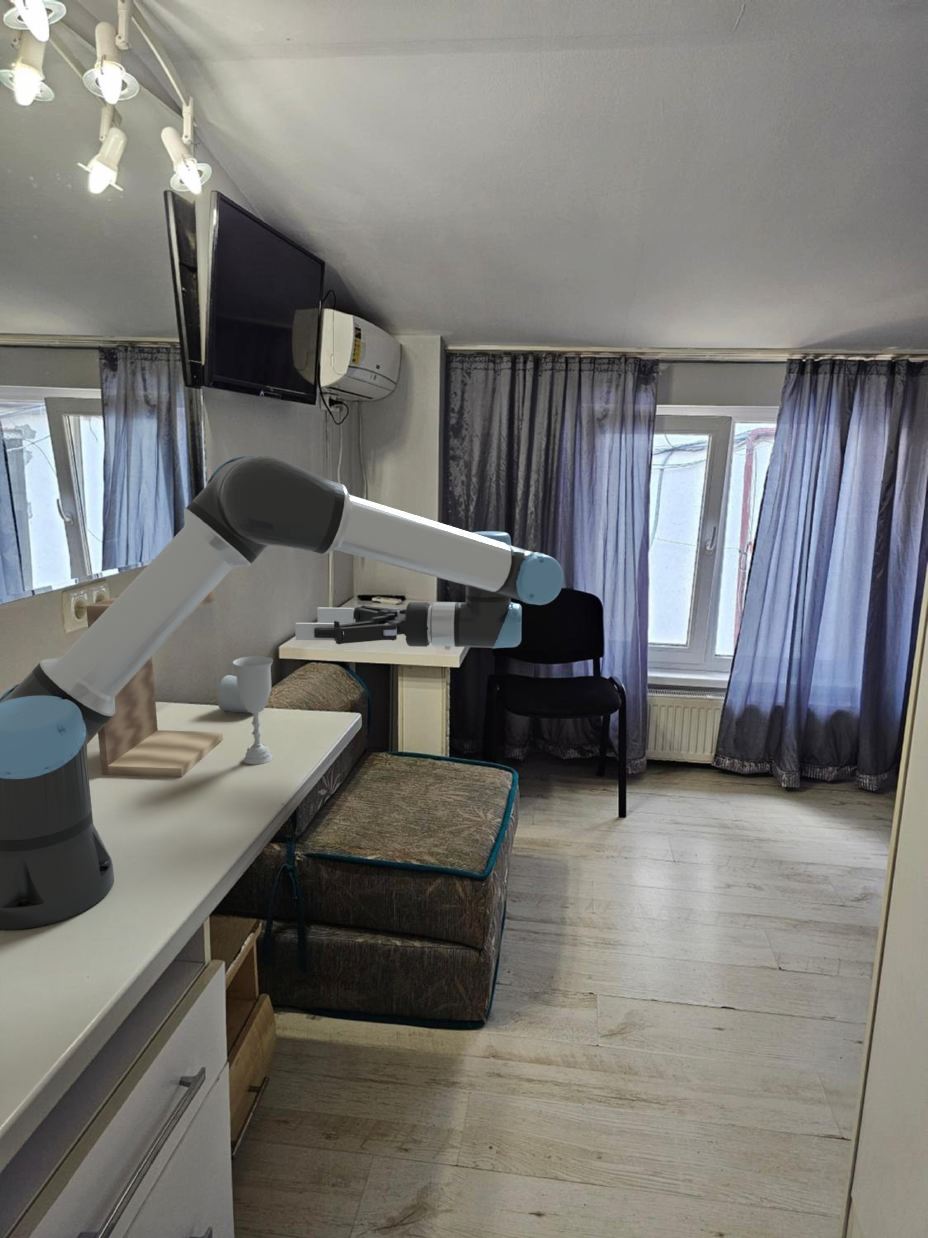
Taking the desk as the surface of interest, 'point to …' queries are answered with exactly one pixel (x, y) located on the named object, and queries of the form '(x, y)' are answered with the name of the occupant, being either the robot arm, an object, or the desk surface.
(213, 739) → the walnut shelf
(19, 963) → the desk surface
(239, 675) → the chalice
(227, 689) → the ceramic mug
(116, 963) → the desk surface
